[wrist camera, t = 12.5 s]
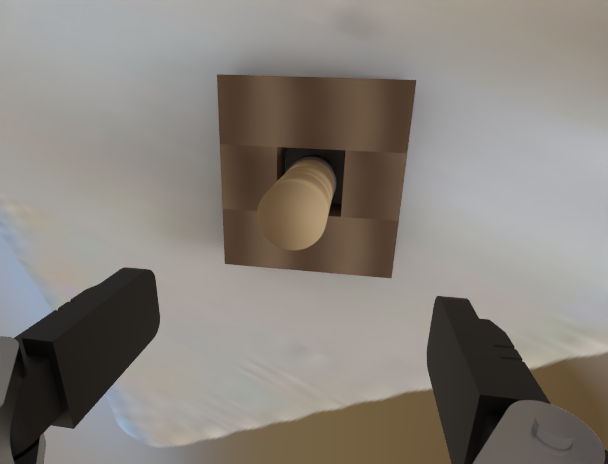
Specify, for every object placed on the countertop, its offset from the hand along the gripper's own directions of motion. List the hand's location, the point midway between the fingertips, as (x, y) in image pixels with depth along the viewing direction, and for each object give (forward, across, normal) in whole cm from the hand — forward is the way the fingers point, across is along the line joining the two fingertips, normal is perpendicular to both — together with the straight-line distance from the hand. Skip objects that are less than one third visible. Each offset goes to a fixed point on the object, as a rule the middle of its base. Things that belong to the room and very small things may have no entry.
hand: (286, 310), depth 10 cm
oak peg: (+25, +2, +1) cm, 25 cm away
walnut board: (+25, +2, +1) cm, 25 cm away
